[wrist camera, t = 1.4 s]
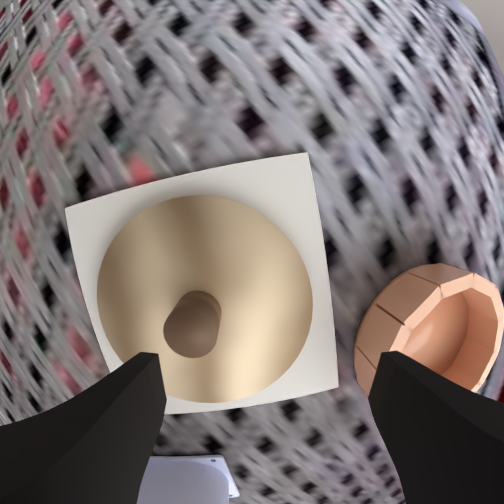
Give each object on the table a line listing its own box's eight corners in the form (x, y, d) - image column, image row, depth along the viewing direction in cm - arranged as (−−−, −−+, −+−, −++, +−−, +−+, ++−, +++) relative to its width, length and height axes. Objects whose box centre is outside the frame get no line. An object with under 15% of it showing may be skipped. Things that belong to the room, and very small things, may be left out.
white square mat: (131, 411, 21) (129, 414, 21) (68, 208, 19) (64, 208, 18) (336, 383, 21) (338, 387, 21) (305, 153, 19) (307, 152, 18)
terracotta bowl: (353, 416, 22) (372, 451, 17) (347, 283, 20) (376, 304, 15) (461, 371, 22) (489, 392, 17) (471, 250, 20) (509, 258, 15)
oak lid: (138, 401, 20) (121, 434, 16) (83, 223, 18) (47, 227, 14) (319, 377, 20) (335, 411, 16) (290, 176, 18) (304, 166, 14)
